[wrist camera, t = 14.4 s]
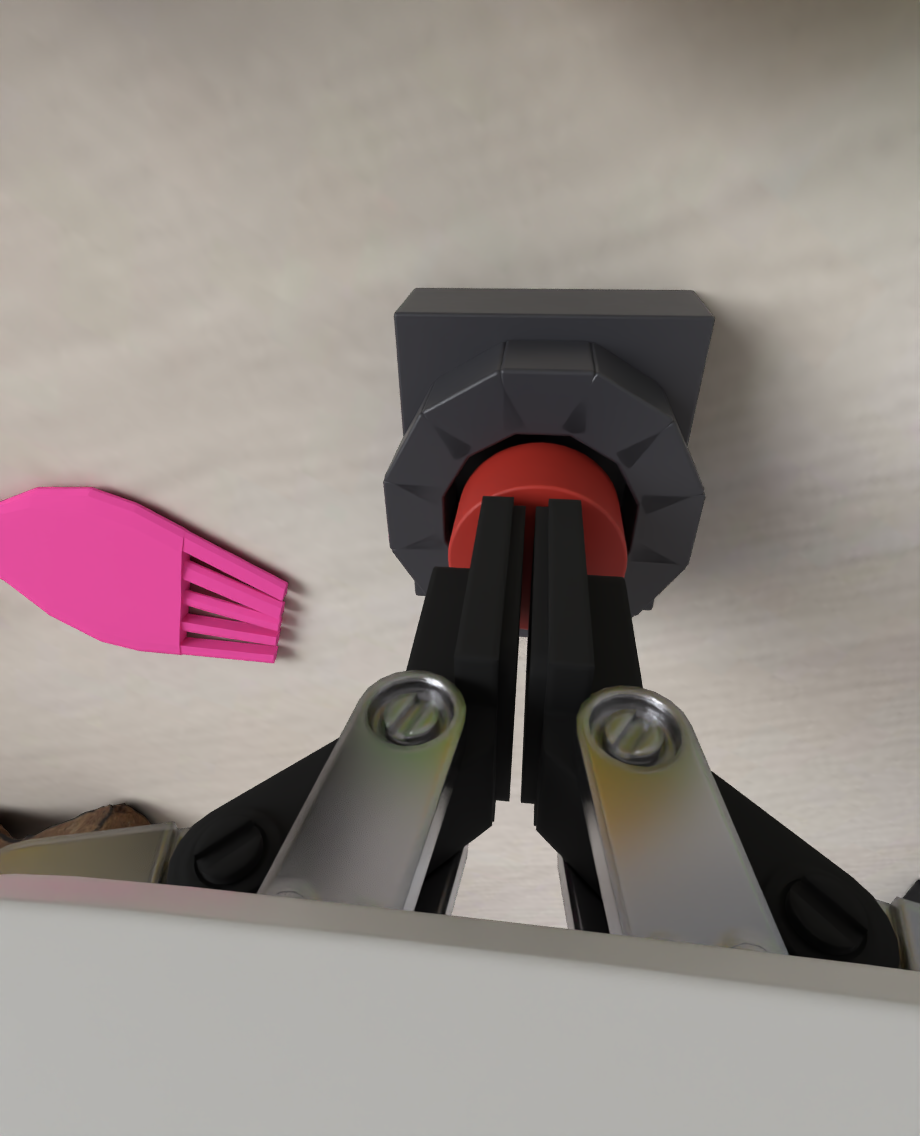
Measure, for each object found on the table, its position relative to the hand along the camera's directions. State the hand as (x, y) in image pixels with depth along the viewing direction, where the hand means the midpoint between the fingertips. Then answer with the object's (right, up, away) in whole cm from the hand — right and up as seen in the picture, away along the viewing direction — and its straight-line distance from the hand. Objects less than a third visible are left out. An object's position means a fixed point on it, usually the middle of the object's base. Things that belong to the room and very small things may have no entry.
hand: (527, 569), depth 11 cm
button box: (+1, +3, +4) cm, 6 cm away
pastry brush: (-19, +2, +7) cm, 20 cm away
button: (0, +1, +1) cm, 2 cm away
